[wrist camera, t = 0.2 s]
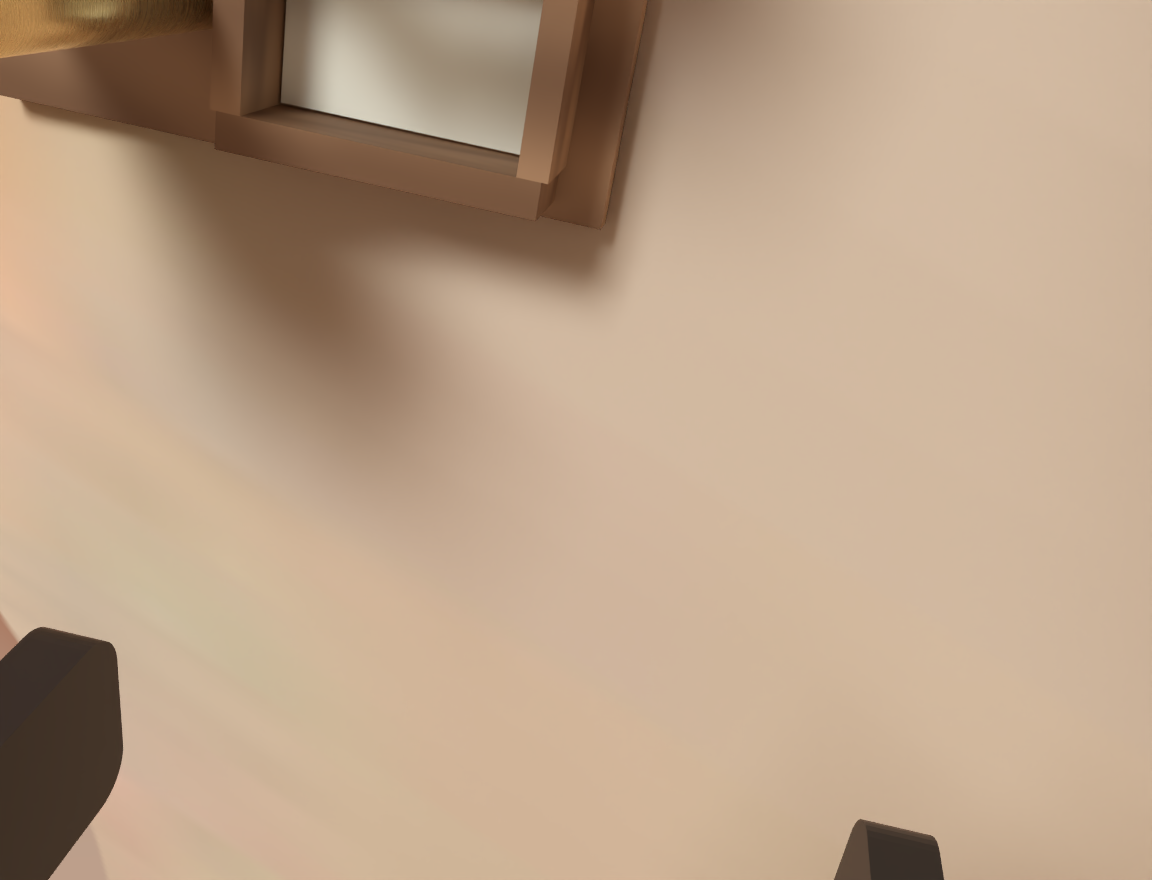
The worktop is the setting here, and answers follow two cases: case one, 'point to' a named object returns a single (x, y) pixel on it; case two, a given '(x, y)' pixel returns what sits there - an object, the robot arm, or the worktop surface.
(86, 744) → the robot arm
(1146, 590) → the worktop surface
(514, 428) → the worktop surface
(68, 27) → the fixed leaf
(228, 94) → the stand
